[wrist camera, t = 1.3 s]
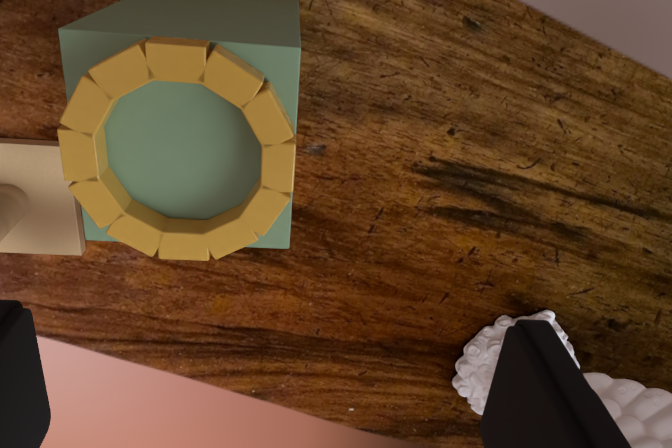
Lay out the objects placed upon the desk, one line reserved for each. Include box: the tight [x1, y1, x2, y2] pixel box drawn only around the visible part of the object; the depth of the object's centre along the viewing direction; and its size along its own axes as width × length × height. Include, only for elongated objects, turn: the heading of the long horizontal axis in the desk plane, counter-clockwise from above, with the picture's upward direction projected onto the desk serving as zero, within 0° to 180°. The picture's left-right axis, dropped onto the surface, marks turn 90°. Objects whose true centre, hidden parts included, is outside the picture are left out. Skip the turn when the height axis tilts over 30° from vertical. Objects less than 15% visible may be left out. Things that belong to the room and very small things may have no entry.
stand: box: [58, 0, 301, 249], centre depth 28 cm, size 8×8×16 cm
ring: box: [57, 36, 296, 261], centre depth 20 cm, size 8×8×1 cm
